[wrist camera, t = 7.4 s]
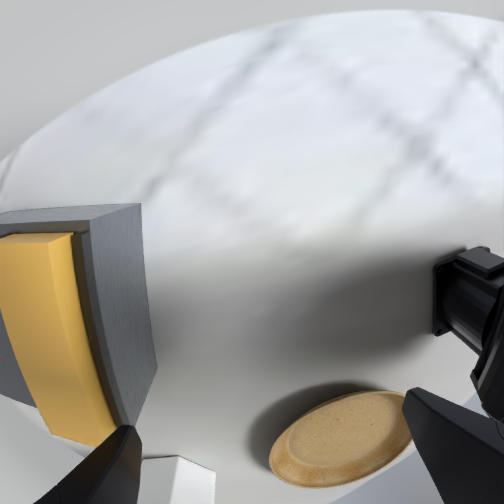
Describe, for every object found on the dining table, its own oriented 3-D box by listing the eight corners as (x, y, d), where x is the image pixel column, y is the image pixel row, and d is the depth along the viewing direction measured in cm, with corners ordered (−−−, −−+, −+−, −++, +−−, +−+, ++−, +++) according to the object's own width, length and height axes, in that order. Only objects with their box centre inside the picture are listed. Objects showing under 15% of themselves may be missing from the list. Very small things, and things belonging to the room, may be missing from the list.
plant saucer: (233, 435, 24) (233, 456, 21) (371, 343, 21) (383, 361, 19) (320, 483, 27) (324, 499, 24) (428, 415, 24) (438, 430, 22)
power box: (140, 203, 18) (80, 222, 10) (157, 368, 21) (129, 441, 13) (3, 212, 17) (-65, 231, 10) (30, 347, 21) (-16, 394, 13)
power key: (73, 232, 11) (48, 243, 9) (117, 426, 14) (108, 450, 12) (13, 233, 11) (-13, 243, 9) (63, 413, 14) (51, 433, 12)
